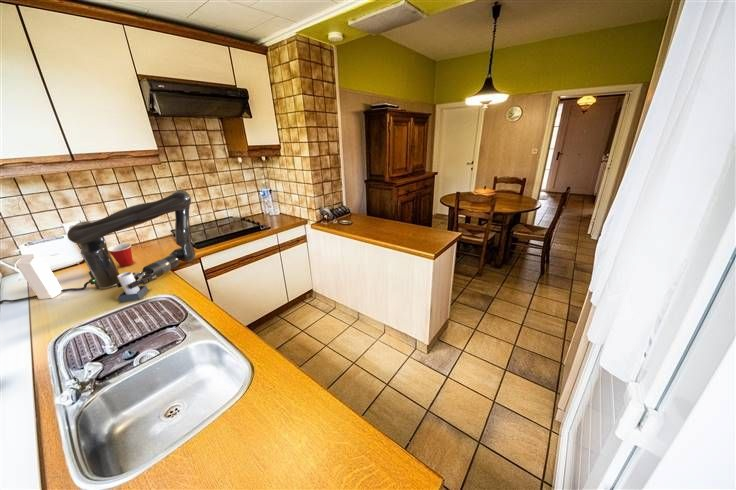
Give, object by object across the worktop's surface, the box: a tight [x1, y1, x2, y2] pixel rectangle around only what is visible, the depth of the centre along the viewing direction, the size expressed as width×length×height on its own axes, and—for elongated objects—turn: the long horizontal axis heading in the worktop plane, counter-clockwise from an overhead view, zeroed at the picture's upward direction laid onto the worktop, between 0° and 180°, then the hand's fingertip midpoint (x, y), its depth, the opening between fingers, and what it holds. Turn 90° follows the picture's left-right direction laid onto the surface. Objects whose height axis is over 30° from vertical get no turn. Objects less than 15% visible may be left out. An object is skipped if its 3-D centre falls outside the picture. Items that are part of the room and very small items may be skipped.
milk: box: [16, 253, 63, 300], centre depth 125 cm, size 6×6×22 cm
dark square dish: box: [117, 284, 149, 303], centre depth 124 cm, size 8×8×3 cm
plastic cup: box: [107, 242, 134, 268], centre depth 155 cm, size 11×11×12 cm
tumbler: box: [117, 271, 140, 295], centre depth 122 cm, size 5×5×11 cm
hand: (123, 286), depth 119 cm, fingers open, 6 cm apart
